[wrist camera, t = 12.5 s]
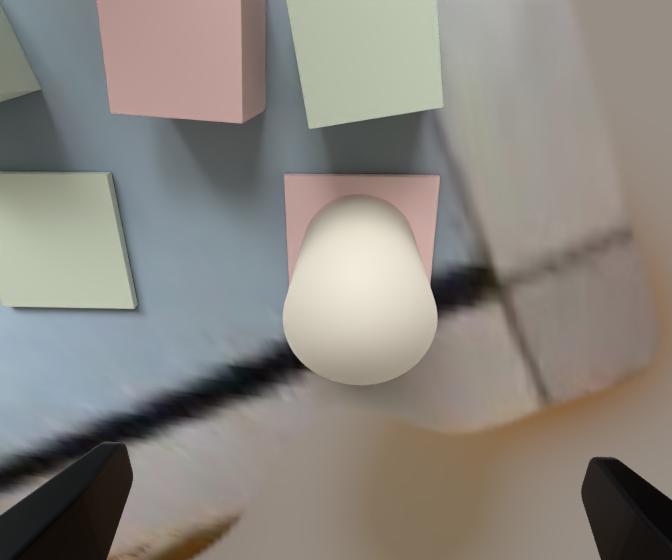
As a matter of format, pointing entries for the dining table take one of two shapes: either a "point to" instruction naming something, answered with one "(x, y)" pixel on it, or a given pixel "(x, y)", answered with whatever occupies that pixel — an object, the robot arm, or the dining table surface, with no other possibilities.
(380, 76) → the sage cube
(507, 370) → the dining table surface
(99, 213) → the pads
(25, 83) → the sage cube
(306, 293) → the cream rounded cylinder
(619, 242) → the dining table surface
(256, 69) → the cube rose
